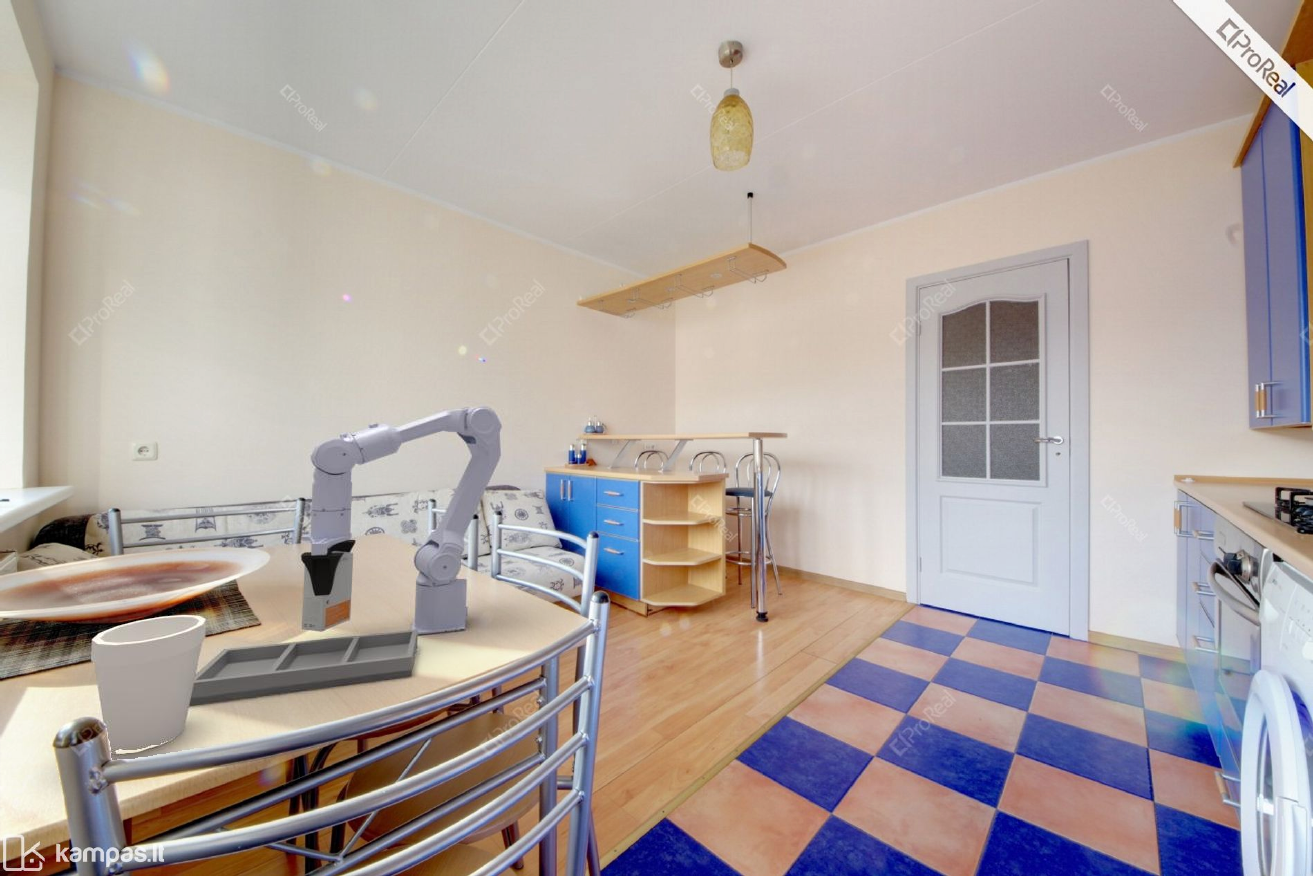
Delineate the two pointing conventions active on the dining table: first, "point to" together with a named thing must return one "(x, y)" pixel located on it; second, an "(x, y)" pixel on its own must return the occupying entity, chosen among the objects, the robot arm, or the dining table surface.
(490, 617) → the dining table surface
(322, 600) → the skincare box
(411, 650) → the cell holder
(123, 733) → the foam cup
